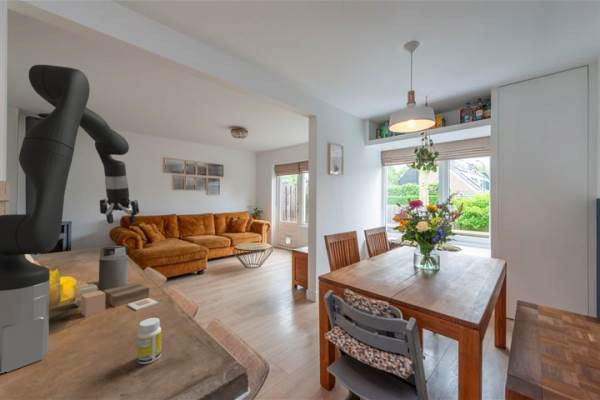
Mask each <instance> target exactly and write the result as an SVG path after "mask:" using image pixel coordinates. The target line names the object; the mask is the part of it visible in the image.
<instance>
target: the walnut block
mask: <svg viewBox="0 0 600 400" xmlns="http://www.w3.org/2000/svg"><path fill="white" fill-rule="evenodd" d="M103 292H104V293H105V301H106V302H105V303H107V304H108V303H109V304H108V305H110V306H111V305H112V307H113V308H117V307H122V306H124V304H125V305H127V304H130V303H131V302H132V303H133V302H136V301H140V300H143V299H147V298H150V287H148V286H146V285H143V284H141V283H138V282H133V283H128V285H124V286H120V287H115V288H111V289H107V290H103Z"/></svg>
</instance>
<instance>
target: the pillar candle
mask: <svg viewBox="0 0 600 400" xmlns="http://www.w3.org/2000/svg"><path fill="white" fill-rule="evenodd" d="M98 263H99V264H98V291H99V290H100V291H102V292H103V290H107V289H111V288H115V287H120V286H124V285H128V284H129V283H128V280H129V279H128V276H129V255H128V256H127V255H114V254H113V255H111V256H105V257H101V258H100V257H99V260H98Z"/></svg>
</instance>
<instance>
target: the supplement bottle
mask: <svg viewBox="0 0 600 400" xmlns="http://www.w3.org/2000/svg"><path fill="white" fill-rule="evenodd" d="M160 322H161V320H160V319H159V318H158V317H151V318H150V317H149V318H146V319H144V320H142V321H140V323H139V328H138V329H139V331H138V333H137V337H136V339H137V340H136V341H137V342H136V346H137V347H136V348H137V350H136V351H137V352H136V353H137V354H136V357H137V358H136V361H137V363H139V364H141V365H148V364H152V363H154V362H155V361H157V360H158V359H159V358H160V357H162V327H161V326H160V324H161V323H160Z"/></svg>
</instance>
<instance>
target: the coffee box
mask: <svg viewBox="0 0 600 400" xmlns="http://www.w3.org/2000/svg"><path fill="white" fill-rule="evenodd" d="M128 247H129V246H127V245H107V246H105V247H99V259H100V258H101V257H105V256H111V255H113V254H114V255H127V256H128V257H129V255H128V253H129V252H128V251H129V249H128Z"/></svg>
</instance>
